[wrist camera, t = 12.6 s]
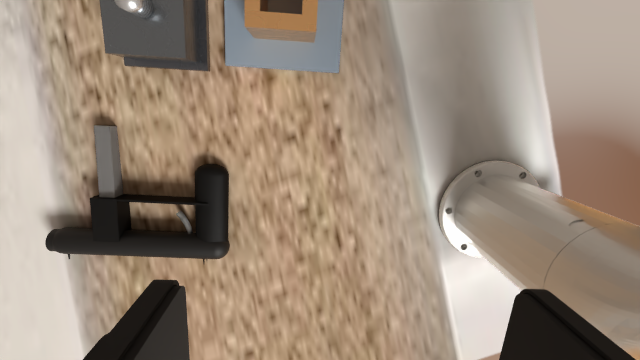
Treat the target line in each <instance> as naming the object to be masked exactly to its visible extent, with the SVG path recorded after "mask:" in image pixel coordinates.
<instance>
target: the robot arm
mask: <svg viewBox="0 0 640 360" xmlns="http://www.w3.org/2000/svg"><path fill="white" fill-rule="evenodd" d="M475 171H476V173H475ZM446 208H447V209H446ZM439 223H440V228H441V230H442V232H443V235H444V236H445V238H446V239H447V240H448V242H449V243H450V244H451V245H452V246H453V247H454V248H455V249H457V250H458V251H459V252H461V253H463V254H465V255H468V256H471V257H476V258H485V259H486V260H487V261H489V262H490V263H491V264H492V265H493V266H494V267H495V268H496V269H498V270H499V271H500V272H501V273H502V274H503V275H504V276H505V277H507V278H508V279H509V280H510V281H511V282H512V283H513V284H514V285H516V286H517V287H518V288H519V289H520V290H521V292H520V294H518V295H517V296H516V297H515V300H514V304H513V308H512V312H511V316H510V320H509V323H508V327H507V331H506V335H505V339H504V343H503V347H502V351H501V355H500V359H499V360H640V226H637V225H635V224H632V223H630V222H627V221H624V220H622V219H619V218H617V217H614V216H611V215H609V214H606V213H603V212H601V211H598V210H596V209H593V208H590V207H588V206H585V205H583V204H580V203H578V202H575V201H572V200H570V199H567V198H565V197H562V196H559V195H557V194H554V193H552V192H549V191H546V190H544V189H541V188H540V187H539V184H538V183H537V181H536V179H535V178H534V177H533V175H532V174H531V173H530V172H529V171H527V170H526V169H524V168H523V167H521V166H519V165H516V164H513V163H510V162H506V161H497V160H493V161H486V162H482V163H479V164H476V165H473V166H471V167H470V168H468V169H466V170H464V171H463V172H462V173H461V174H459V175H458V176H457V177H456V178H455V179H454V180H453V181H452V182H451V183H450V185H449V186H448V188H447V189H446V191H445V193H444V195H443V197H442V200H441V203H440V208H439ZM83 360H190V359H189V342H188V325H187V308H186V292H185V287H184V286H179V283H178V281H177V280H153V281H152V282H151V283H150V284H149V286H148V287H147V288H146V289H145V290H144V292H143V293H142V294H141V295H140V297H139V298H138V299H137V300H136V301H135V303H134V304H133V305H132V306H131V307H130V309H129V310H128V311H127V312H126V313H125V315H124V316H123V317H122V318H121V319H120V321H119V322H118V323H117V324H116V325H115V327H114V328H113V329H112V330H111V332H110V333H108V334H106V335H104V336H103V337H102V338H101V339H100V340H99V341H98V342H97V343H96V345H95V346H94V347H93V348H92V349H91V351H90V352H89V353H88V354H87V355H86V356H85V358H84V359H83Z"/></svg>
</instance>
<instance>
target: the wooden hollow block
mask: <svg viewBox="0 0 640 360" xmlns="http://www.w3.org/2000/svg"><path fill="white" fill-rule="evenodd" d="M317 9H318V0H303V4H302V14H290V13H277V12H268V0H245V28H246V29H247V30H248V31H249V32H250V34H251V35H252V36H253V37H254V38H256V39H270V40H284V41H298V42H311V43H314V42H315V36H316V28H317Z"/></svg>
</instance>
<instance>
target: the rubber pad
mask: <svg viewBox="0 0 640 360" xmlns="http://www.w3.org/2000/svg"><path fill="white" fill-rule="evenodd" d="M302 4H303V0H268V12H277V13H290V14H302ZM343 6H344V0H318V9H317V28H316V36H315V42H314V43H311V42H298V41H284V40H270V39H256V38H254V37H253V36H252V35H251V34H250V32H249V31H248V30H247V29H246V28H245V0H224V9H225V63H226V66H239V67H254V68H269V69H284V70H299V71H314V72H329V73H339V63H340V49H341V35H342V20H343Z"/></svg>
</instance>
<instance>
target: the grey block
mask: <svg viewBox="0 0 640 360" xmlns="http://www.w3.org/2000/svg"><path fill="white" fill-rule="evenodd" d="M100 8H101V17H102V26H103V35H104V44H105V53H108V54H112V55H117V56H121V57H124V64H125V66H133V67H148V68H164V69H179V70H195V71H210V55H209V23H208V0H100Z"/></svg>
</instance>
